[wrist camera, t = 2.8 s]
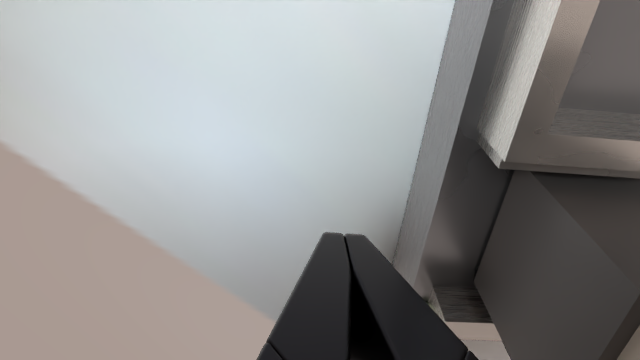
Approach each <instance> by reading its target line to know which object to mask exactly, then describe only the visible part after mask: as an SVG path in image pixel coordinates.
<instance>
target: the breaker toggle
mask: <svg viewBox="0 0 640 360" xmlns="http://www.w3.org/2000/svg"><path fill="white" fill-rule="evenodd" d="M474 284H475V286H476V288H477V290H478V292H479V294H480V296H481V298H482V300H483V302H484V305H485V307H486V309H487V311H488V313H489V315H490V317H491V319H492V321H493V323H494V325H495V327H496V329H497V331H498V334H499V336H500V338H501V340H502V342H503V344H504V346H505V348H506V350H507V352H508V354H509V356H510V358H511V360H640V178H626V177H611V176H597V175H583V174H569V173H555V172H541V171H526V170H515V171H514V173H513V176H512V179H511V181H510V184H509V187H508V190H507V192H506V195H505V198H504V201H503V203H502V206H501V209H500V211H499V214H498V217H497V220H496V222H495V225H494V228H493V230H492V233H491V236H490V239H489V241H488V244H487V247H486V249H485V252H484V255H483V258H482V260H481V263H480V266H479V268H478V271H477V274H476V277H475V279H474Z"/></svg>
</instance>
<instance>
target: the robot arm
mask: <svg viewBox="0 0 640 360" xmlns="http://www.w3.org/2000/svg"><path fill="white" fill-rule="evenodd" d="M467 351H468V348H467V347H466V346H465V345H464V343H463V342H462V341H461V340H460V339H459V338H458V337H457V336H456V335H455V334H454V332H453V331H452V330H451V329H450V328H449V327H448V326H447V325H446V324H445V323H444V322H443V320H442V319H441V318H440V317H439V316H438V315H437V314H436V313H435V312H434V311H433V309H432V308H431V307H430V306H429V305H428V304H427V303H426V302H425V301H424V300H423V299H422V297H421V296H420V295H419V294H418V293H417V292H416V291H415V290H414V289H413V288H412V286H411V285H410V284H409V283H408V282H407V281H406V280H405V279H404V278H403V277H402V276H401V274H400V273H399V272H398V271H397V270H396V269H395V268H394V267H393V266H392V265H391V264H390V262H389V261H388V260H387V259H386V258H385V257H384V256H383V255H382V254H381V253H380V251H379V250H378V249H377V248H376V247H375V246H374V245H373V244H372V243H371V242H370V241H369V239H368V238H367V237H366V236H364V235H362V234H345V235H344V236H343V234H341V233H330V232H325V233H323V234H322V236H321V238H320V240H319V242H318V244H317V246H316V248H315V250H314V251H313V253H312V255H311V257H310V259H309V261H308V263H307V265H306V267H305V269H304V271H303V272H302V274H301V276H300V278H299V280H298V282H297V284H296V286H295V288H294V290H293V292H292V293H291V295H290V297H289V299H288V301H287V303H286V305H285V307H284V309H283V311H282V313H281V314H280V316H279V318H278V320H277V322H276V324H275V326H274V328H273V330H272V332H271V334H270V335H269V337H268V339H267V342H266V344H265V345H264V346H263V348H262V350H261V352H260V354H259V356H258V358H257V360H478V359H477V357H476V356H475V355H474V354H473V353H472V352H471V351H468V352H467Z"/></svg>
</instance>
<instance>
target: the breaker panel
mask: <svg viewBox="0 0 640 360" xmlns="http://www.w3.org/2000/svg"><path fill="white" fill-rule="evenodd" d="M515 170H526V171H541V172H555V173H569V174H583V175H597V176H611V177H626V178H640V0H456V1H455V5H454V9H453V13H452V17H451V22H450V26H449V30H448V34H447V38H446V43H445V47H444V51H443V55H442V59H441V64H440V68H439V72H438V76H437V80H436V85H435V89H434V93H433V97H432V101H431V106H430V110H429V114H428V118H427V122H426V127H425V131H424V135H423V139H422V143H421V148H420V152H419V156H418V160H417V165H416V169H415V173H414V177H413V181H412V186H411V190H410V194H409V198H408V202H407V207H406V211H405V215H404V219H403V223H402V228H401V232H400V236H399V240H398V244H397V249H396V253H395V257H394V261H393V265H392V266H393V267H394V268H395V269H396V270H397V271H398V272H399V273H400V274H401V276H402V277H403V278H404V279H405V280H406V281H407V282H408V283H409V284H410V285H411V286H412V288H413V289H414V290H415V291H416V292H417V293H418V294H419V295H420V296H421V297H422V299H423V300H424V301H425V302H426V303H427V304H428V305H429V306H430V307H431V308H432V309H433V311H434V312H435V313H436V314H437V315H438V316H439V317H440V318H441V319H442V320H443V322H444V323H445V324H446V325H447V326H448V327H449V328H450V329H451V330H452V331H453V332H454V334H455V335H456V336H457V337H458V338H459V339H461V340H489V341H502V340H501V338H500V336H499V334H498V331H497V329H496V327H495V325H494V323H493V321H492V319H491V317H490V315H489V313H488V311H487V309H486V307H485V305H484V302H483V300H482V298H481V296H480V294H479V292H478V290H477V288H476V286H475V284H474V279H475V277H476V274H477V271H478V268H479V266H480V263H481V260H482V258H483V255H484V252H485V249H486V247H487V244H488V241H489V239H490V236H491V233H492V230H493V228H494V225H495V222H496V220H497V217H498V214H499V211H500V209H501V206H502V203H503V201H504V198H505V195H506V192H507V190H508V187H509V184H510V181H511V179H512V176H513V173H514V171H515Z"/></svg>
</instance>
